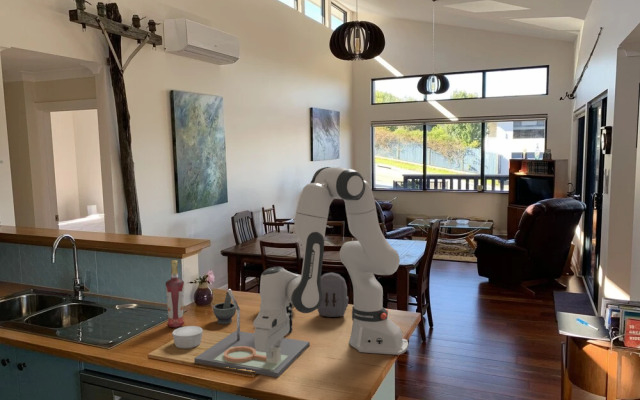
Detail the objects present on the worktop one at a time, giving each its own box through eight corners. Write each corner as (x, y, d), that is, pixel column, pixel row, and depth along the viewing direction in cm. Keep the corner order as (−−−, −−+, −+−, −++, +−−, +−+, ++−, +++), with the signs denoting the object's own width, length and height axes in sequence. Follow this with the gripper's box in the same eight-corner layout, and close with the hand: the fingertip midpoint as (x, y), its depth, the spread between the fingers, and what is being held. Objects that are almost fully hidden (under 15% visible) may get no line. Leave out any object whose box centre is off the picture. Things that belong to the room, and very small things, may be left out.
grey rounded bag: (348, 314, 219) (349, 271, 217) (347, 320, 211) (347, 275, 209) (316, 312, 221) (316, 269, 219) (313, 318, 213) (313, 274, 211)
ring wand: (285, 355, 170) (285, 343, 169) (271, 368, 160) (271, 355, 159) (234, 347, 177) (234, 335, 176) (218, 359, 167) (217, 346, 166)
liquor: (185, 328, 201) (183, 262, 198) (166, 330, 199) (164, 263, 196) (184, 322, 208) (183, 258, 205) (166, 324, 206) (165, 259, 203)
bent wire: (241, 341, 185) (240, 284, 183) (230, 348, 178) (230, 289, 176) (237, 340, 186) (237, 283, 184) (227, 347, 179) (226, 289, 176)
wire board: (309, 345, 183) (309, 341, 183) (277, 377, 157) (277, 372, 157) (235, 334, 194) (235, 330, 194) (194, 362, 168) (194, 357, 168)
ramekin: (171, 340, 188) (171, 327, 187) (201, 337, 192) (200, 324, 191) (173, 351, 177) (173, 338, 177) (204, 347, 181) (204, 334, 181)
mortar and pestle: (229, 326, 203) (229, 298, 202) (209, 324, 206) (209, 296, 204) (240, 317, 214) (240, 291, 213) (221, 315, 216) (220, 289, 215)
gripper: (277, 305, 175) (278, 342, 176) (250, 323, 155) (251, 365, 157) (293, 307, 172) (294, 344, 174) (268, 326, 153) (268, 368, 155)
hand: (273, 354), depth 165 cm, fingers open, 4 cm apart
